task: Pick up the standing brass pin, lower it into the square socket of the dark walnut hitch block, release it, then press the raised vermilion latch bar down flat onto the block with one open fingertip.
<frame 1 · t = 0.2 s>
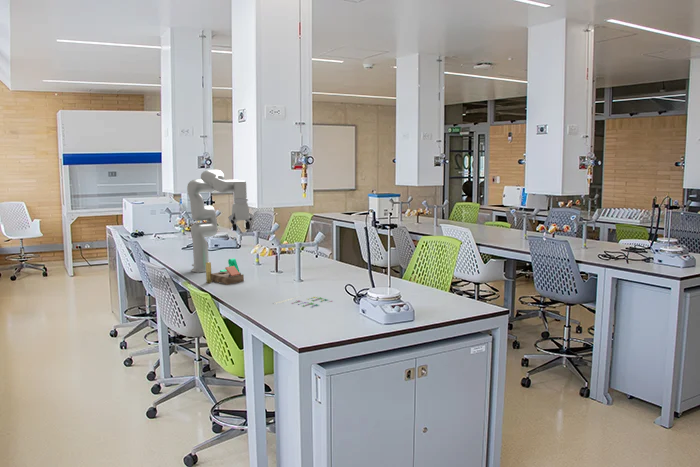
hand: (241, 229, 340), 31 cm above the table, fingers open, 9 cm apart
hitch block: (227, 280, 343), on the table
brass pin: (209, 282, 338), on the table
camera mount: (229, 275, 361), on the table
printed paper: (314, 303, 290), on the table
latch bar: (232, 271, 338), point 7 cm above the table, hinge at 35.0°
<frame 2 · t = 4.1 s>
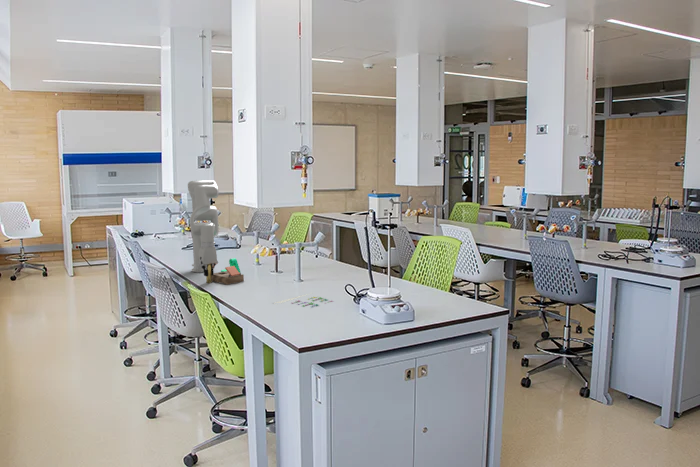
hand: (208, 275, 337), 4 cm above the table, fingers closed on brass pin, 3 cm apart
brass pin: (209, 282, 338), on the table, touching gripper
when the fingers open (5 cm above the table, at t = 8.7 s): brass pin stays where it is, resting in hitch block.
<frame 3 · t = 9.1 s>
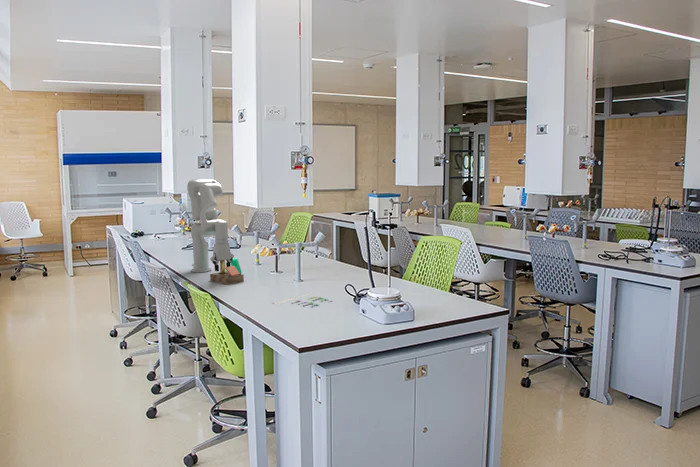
hand: (222, 269, 345), 6 cm above the table, fingers open, 7 cm apart
brass pin: (223, 279, 345), resting in hitch block
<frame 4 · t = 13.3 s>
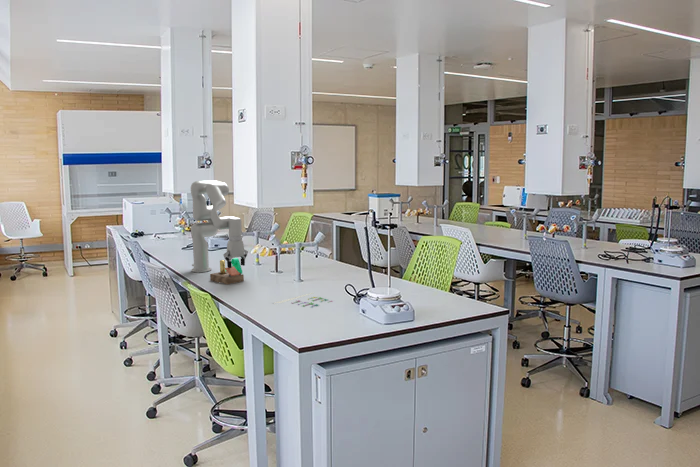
hand: (236, 266, 343), 9 cm above the table, fingers open, 9 cm apart
latch bar: (232, 271, 338), point 7 cm above the table, hinge at 30.4°, touching gripper
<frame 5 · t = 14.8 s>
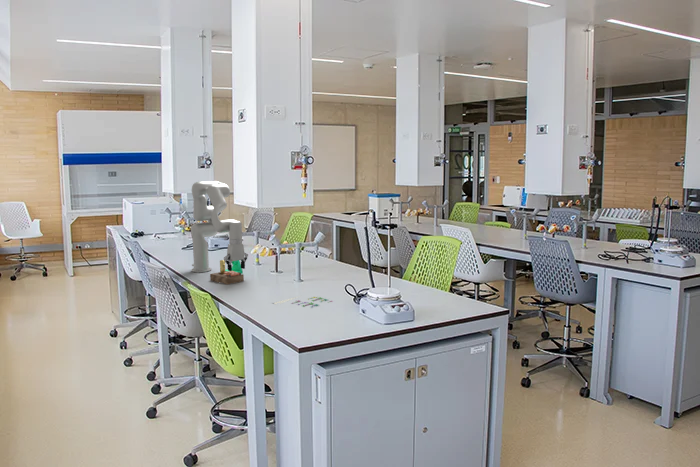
hand: (236, 269, 343), 7 cm above the table, fingers open, 9 cm apart
latch bar: (231, 273, 339), point 5 cm above the table, hinge at 4.8°
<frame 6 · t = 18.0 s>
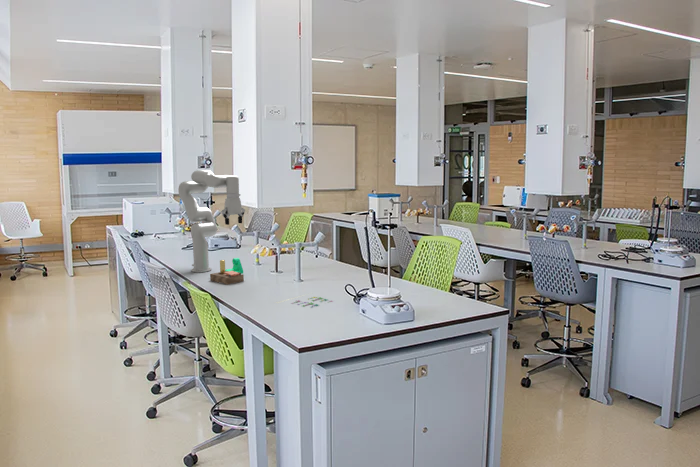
hand: (233, 223, 349), 33 cm above the table, fingers open, 9 cm apart
at the end: brass pin 0.0 cm from the target spot on the hitch block, point 0.0 cm above the hitch block's base; brass pin tilted 0°; latch bar at +5° (first picture: +35°) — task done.
